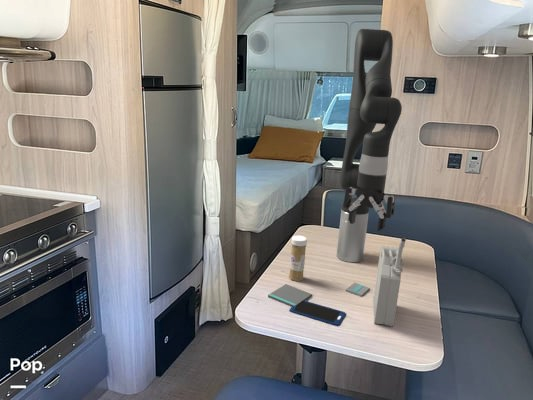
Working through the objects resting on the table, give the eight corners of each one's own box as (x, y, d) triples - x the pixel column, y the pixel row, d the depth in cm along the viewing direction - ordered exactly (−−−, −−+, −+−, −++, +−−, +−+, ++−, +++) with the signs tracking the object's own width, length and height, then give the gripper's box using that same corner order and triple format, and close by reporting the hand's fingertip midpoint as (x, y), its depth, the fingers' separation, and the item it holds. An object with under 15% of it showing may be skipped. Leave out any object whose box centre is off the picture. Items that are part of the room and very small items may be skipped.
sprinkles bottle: (285, 278, 135) (288, 237, 131) (294, 273, 138) (297, 233, 134) (298, 283, 132) (301, 241, 128) (306, 278, 136) (310, 237, 132)
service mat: (285, 285, 130) (285, 283, 130) (311, 295, 125) (311, 293, 125) (267, 296, 123) (268, 294, 123) (294, 307, 118) (294, 305, 118)
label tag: (354, 284, 133) (354, 282, 133) (369, 289, 131) (369, 287, 130) (345, 290, 129) (345, 289, 129) (361, 296, 126) (361, 294, 126)
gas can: (394, 333, 109) (409, 239, 102) (374, 329, 110) (387, 237, 103) (391, 303, 123) (404, 220, 116) (373, 300, 124) (384, 217, 117)
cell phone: (338, 327, 110) (338, 325, 110) (288, 312, 116) (288, 310, 116) (346, 314, 116) (346, 312, 116) (298, 301, 122) (298, 298, 122)
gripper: (402, 173, 119) (394, 229, 123) (355, 165, 127) (348, 218, 131) (392, 177, 113) (384, 236, 117) (343, 168, 121) (337, 223, 125)
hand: (365, 226), depth 124 cm, fingers open, 8 cm apart
